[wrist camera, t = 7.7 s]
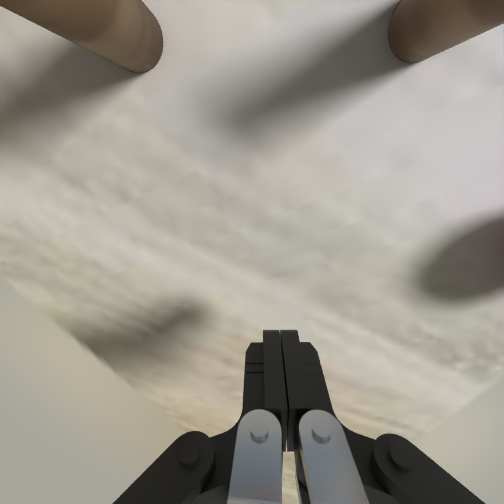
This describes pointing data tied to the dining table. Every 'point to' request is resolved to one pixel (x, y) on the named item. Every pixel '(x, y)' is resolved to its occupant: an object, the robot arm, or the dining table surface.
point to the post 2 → (439, 25)
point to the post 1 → (100, 27)
